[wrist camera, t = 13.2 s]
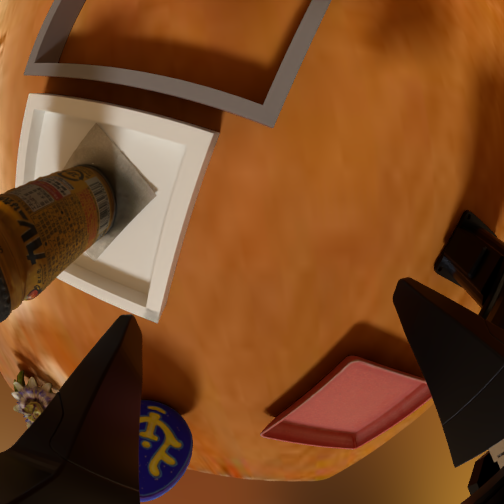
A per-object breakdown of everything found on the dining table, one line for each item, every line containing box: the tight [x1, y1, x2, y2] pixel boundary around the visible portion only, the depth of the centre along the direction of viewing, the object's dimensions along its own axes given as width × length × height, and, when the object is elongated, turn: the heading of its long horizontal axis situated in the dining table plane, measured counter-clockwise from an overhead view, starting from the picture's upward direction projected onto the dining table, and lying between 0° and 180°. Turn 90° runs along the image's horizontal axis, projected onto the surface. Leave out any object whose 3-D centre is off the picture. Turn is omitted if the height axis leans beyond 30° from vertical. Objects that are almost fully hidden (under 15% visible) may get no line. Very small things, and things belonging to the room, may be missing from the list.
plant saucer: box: [260, 355, 432, 449], centre depth 28 cm, size 18×18×3 cm
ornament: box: [139, 400, 193, 502], centre depth 24 cm, size 11×9×15 cm
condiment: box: [0, 123, 157, 322], centre depth 12 cm, size 7×8×12 cm
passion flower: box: [12, 370, 56, 428], centre depth 31 cm, size 11×11×12 cm
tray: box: [15, 93, 220, 323], centre depth 17 cm, size 16×15×2 cm
